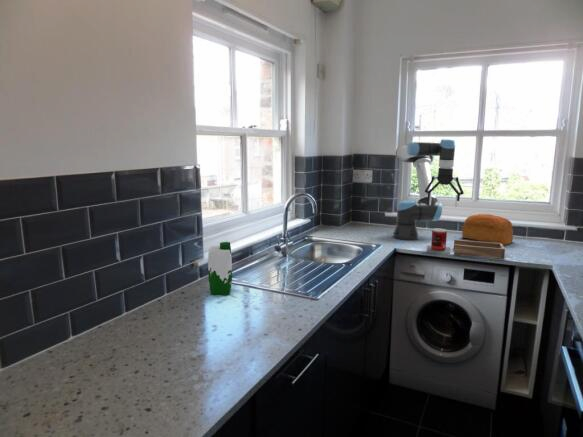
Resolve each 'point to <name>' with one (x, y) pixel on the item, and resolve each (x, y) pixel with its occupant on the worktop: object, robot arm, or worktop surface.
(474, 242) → the wooden tray
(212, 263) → the milk carton
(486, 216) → the bread
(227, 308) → the worktop surface
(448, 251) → the mat
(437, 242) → the canned food
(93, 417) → the worktop surface
